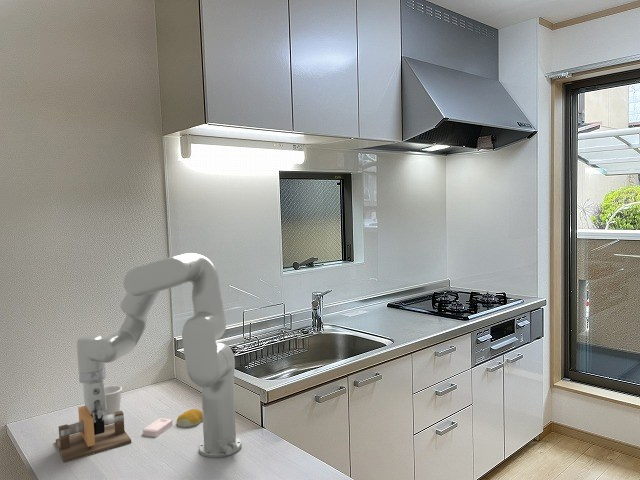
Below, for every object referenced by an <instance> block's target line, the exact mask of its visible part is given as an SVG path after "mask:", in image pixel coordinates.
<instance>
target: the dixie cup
mask: <svg viewBox="0 0 640 480" xmlns="http://www.w3.org/2000/svg"><path fill="white" fill-rule="evenodd" d="M104 389H105V398H106V407H107V410H106V411H105V412H104V411H103V410H102V413H103V416H106V415H110V414H114V412H117V411H121V400H122V390H123V387H122V386H120V385H108V386H104Z"/></svg>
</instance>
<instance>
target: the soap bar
mask: <svg viewBox="0 0 640 480" xmlns="http://www.w3.org/2000/svg"><path fill="white" fill-rule="evenodd" d="M171 427H173V419H169V418H158V419H156V420H155V421H153V422H152V423H150V424H148V425H147V426H146V427H145V428H143V429H142V435H143V436H145V437H154V438H157V437H158V436H160V435H162V434H163V433H164V432H165V431H167V430H169V429H170V428H171Z"/></svg>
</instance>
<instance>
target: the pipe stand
mask: <svg viewBox="0 0 640 480" xmlns="http://www.w3.org/2000/svg"><path fill="white" fill-rule="evenodd" d="M124 414H125V413H124V412H123V411H122V410H121V409H120V411H117V412H114V414H110V415H106V416H103V418H104V429H105V432H104V433H101V434H97V435H94V437H95V445H92V446H89V447H88V446H87V444H86V442H85V440H84V439H83V437H82V435H81V433H80V432H83V431H84V422H83V421H82V422H78V421H77V422H75V423H71V424H67V423H66V424H63V425H59V426H58V435H59V436H58V438H56V439H55V443H56V447H57V449H58V452H59V455H60V457H61V459H62V462H63V463H67V462H69V461H74V460H77V459H80V458H85V457H88V456H91V455H94V454H93V453H95V454H98V453H101V451H102V452H105V451H108V449H109V450H112V449H115V448H118V447H119V448H120V447H122V446H125V445H129V444H132V439H131V437H130V436H129V435H128V434H127V432H126V431H125V430H126V429H125V419H124V418H125V417H124V416H125V415H124ZM104 450H105V451H104ZM97 452H98V453H97ZM90 454H91V455H90ZM87 455H88V456H87ZM84 456H85V457H84Z"/></svg>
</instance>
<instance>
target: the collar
mask: <svg viewBox="0 0 640 480" xmlns="http://www.w3.org/2000/svg"><path fill="white" fill-rule="evenodd" d="M77 408H78V409H77V410H78V421H79V422H82V421H83V422H84V431H83V432H79V433H81V435H82V437H83V439H84V440H85V442H86V444H87V446H88V447H89V446H92V445H95V437H94V421H93V418H92V416H91V414H89V412H88V411H87V409H86V407H85V405H83V406H79V407H77Z"/></svg>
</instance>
